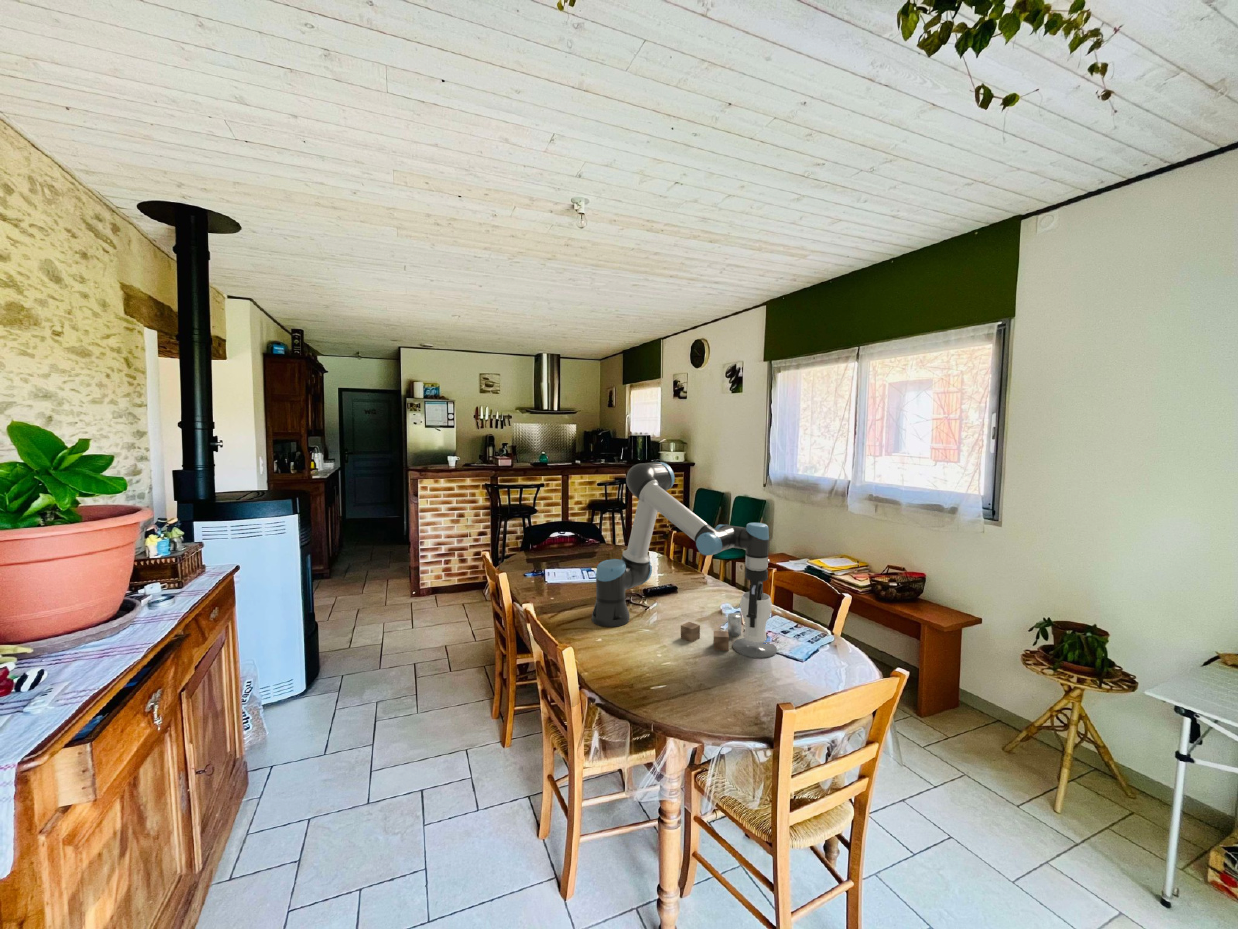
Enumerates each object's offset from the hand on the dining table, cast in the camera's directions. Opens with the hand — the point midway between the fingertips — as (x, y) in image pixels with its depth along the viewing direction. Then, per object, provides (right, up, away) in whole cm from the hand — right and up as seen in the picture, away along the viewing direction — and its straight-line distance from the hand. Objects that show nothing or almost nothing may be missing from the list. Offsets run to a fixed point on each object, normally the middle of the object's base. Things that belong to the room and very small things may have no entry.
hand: (755, 629), depth 179 cm
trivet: (0, -7, +1) cm, 7 cm away
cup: (0, -3, 0) cm, 3 cm away
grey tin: (-4, -6, +13) cm, 15 cm away
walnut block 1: (-22, -6, +9) cm, 24 cm away
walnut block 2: (-12, -7, +1) cm, 14 cm away
